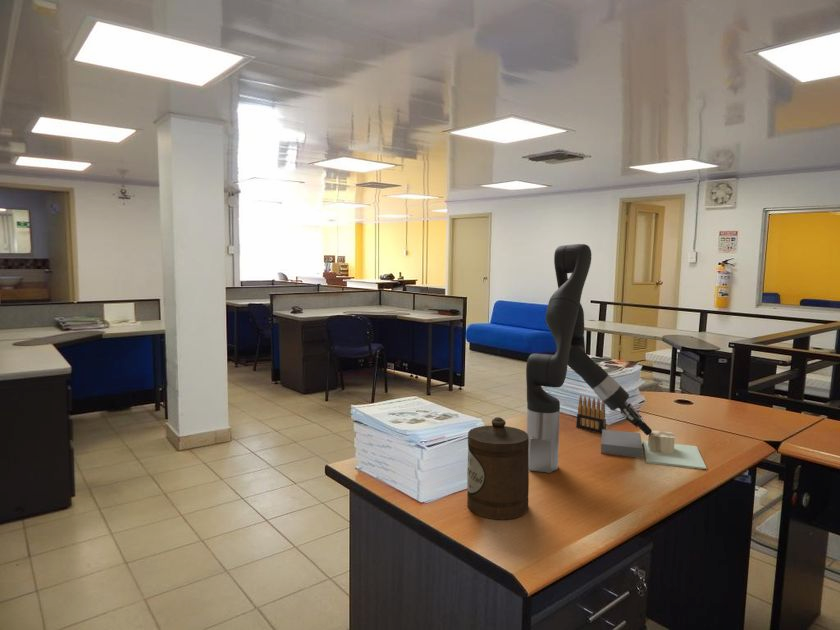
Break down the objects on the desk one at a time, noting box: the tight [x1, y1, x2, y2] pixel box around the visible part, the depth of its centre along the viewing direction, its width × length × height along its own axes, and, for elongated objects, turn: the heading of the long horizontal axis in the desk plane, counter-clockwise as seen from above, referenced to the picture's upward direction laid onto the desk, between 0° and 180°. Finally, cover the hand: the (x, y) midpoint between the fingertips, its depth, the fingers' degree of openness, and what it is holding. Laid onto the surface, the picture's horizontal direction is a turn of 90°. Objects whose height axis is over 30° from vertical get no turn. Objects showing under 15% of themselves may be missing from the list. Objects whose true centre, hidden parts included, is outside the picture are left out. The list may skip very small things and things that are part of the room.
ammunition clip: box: [575, 394, 607, 435], centre depth 191 cm, size 11×2×12 cm, turn 43°
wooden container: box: [466, 416, 530, 521], centre depth 130 cm, size 15×15×22 cm
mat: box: [642, 440, 708, 470], centre depth 166 cm, size 20×16×1 cm
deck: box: [600, 429, 644, 459], centre depth 173 cm, size 16×12×3 cm
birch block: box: [647, 429, 676, 454], centre depth 169 cm, size 6×5×7 cm
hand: (649, 432), depth 170 cm, fingers closed
